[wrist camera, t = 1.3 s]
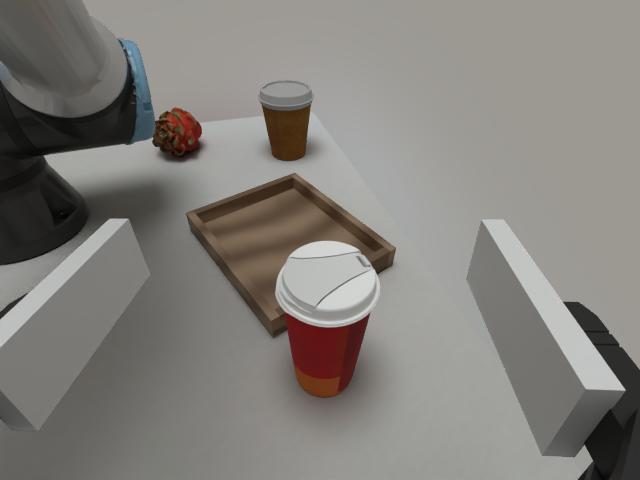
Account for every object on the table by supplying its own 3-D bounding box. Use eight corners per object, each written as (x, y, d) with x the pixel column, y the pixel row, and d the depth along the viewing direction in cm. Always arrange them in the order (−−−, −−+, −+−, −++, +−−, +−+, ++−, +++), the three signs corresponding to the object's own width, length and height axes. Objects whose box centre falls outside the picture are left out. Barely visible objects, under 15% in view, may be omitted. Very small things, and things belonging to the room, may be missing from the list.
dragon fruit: (175, 175, 64) (185, 153, 74) (209, 146, 62) (214, 127, 72) (134, 139, 59) (150, 121, 69) (170, 106, 57) (181, 92, 67)
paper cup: (341, 325, 38) (350, 226, 29) (378, 389, 33) (404, 292, 24) (272, 351, 36) (259, 252, 27) (300, 424, 31) (296, 332, 21)
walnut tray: (190, 229, 50) (185, 213, 48) (295, 188, 58) (294, 172, 56) (273, 337, 37) (271, 320, 35) (392, 264, 46) (396, 247, 44)
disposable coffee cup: (293, 137, 73) (291, 75, 65) (323, 154, 67) (325, 90, 59) (254, 150, 68) (246, 86, 60) (283, 170, 63) (279, 102, 55)
